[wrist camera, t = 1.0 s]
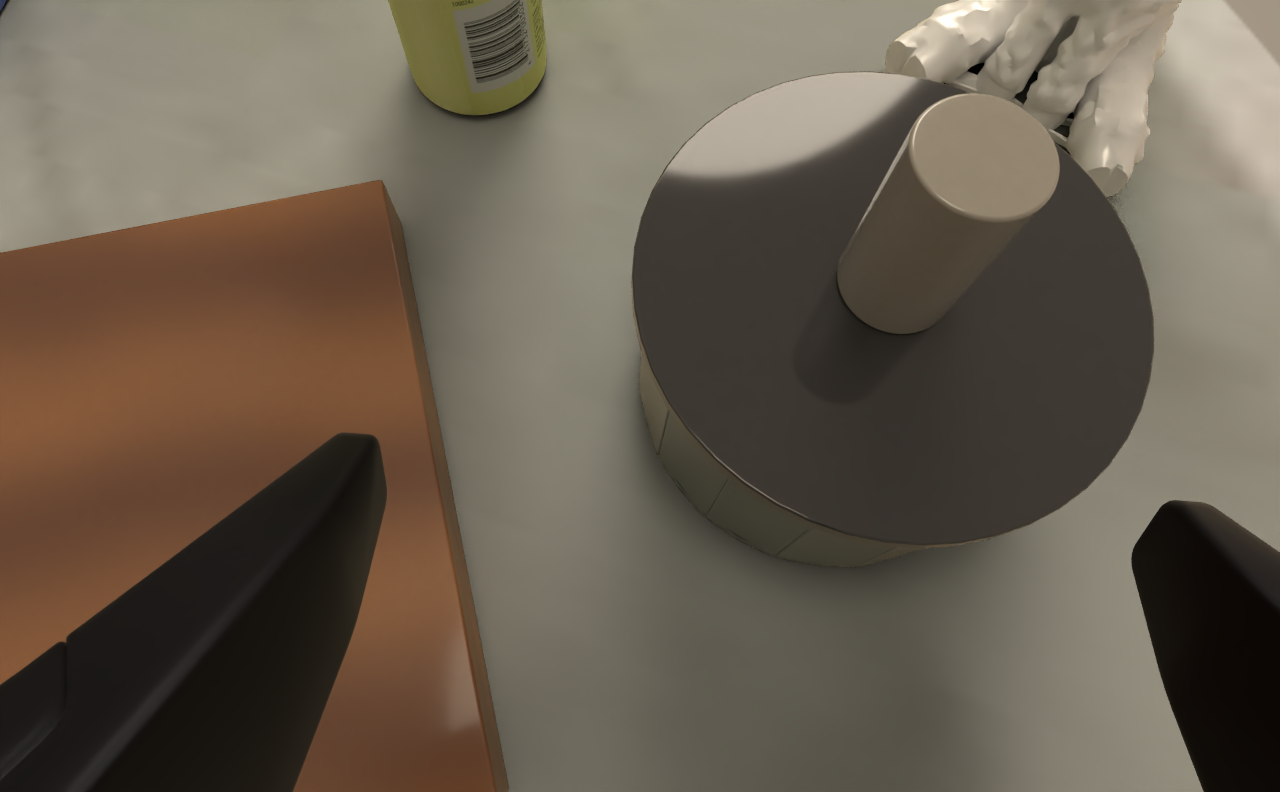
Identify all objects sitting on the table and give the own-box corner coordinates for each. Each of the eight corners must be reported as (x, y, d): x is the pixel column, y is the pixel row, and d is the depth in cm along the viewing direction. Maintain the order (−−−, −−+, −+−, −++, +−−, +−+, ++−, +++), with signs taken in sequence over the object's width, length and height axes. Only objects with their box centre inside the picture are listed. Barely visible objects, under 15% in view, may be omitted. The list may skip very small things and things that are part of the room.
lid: (1217, 478, 19) (1476, 391, 14) (712, 616, 18) (762, 581, 12) (1007, 63, 23) (1138, -141, 18) (578, 145, 22) (570, -48, 16)
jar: (1059, 513, 25) (1206, 457, 19) (698, 611, 24) (731, 584, 18) (921, 197, 29) (1008, 64, 23) (602, 265, 27) (601, 143, 21)
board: (509, 790, 22) (498, 802, 19) (-321, 1031, 19) (-449, 1078, 17) (401, 221, 28) (381, 178, 25) (-252, 351, 25) (-341, 316, 23)
